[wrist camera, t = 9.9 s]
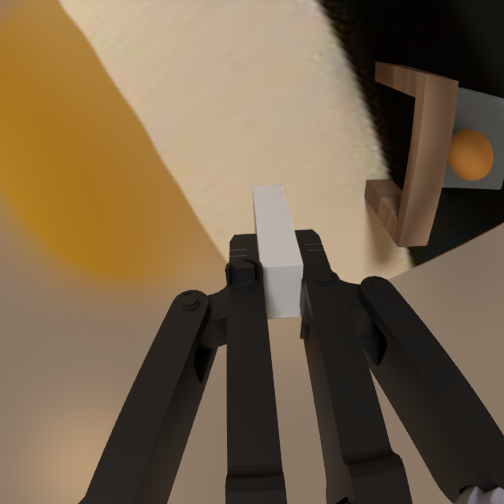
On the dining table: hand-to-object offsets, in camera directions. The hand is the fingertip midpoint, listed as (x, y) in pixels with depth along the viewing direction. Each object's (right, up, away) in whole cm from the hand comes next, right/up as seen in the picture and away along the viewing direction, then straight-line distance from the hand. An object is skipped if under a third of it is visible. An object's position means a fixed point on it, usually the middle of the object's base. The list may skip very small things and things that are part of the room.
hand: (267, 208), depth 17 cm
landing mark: (+25, +10, +12) cm, 30 cm away
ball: (+22, +8, +10) cm, 25 cm away
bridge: (+12, +10, +12) cm, 19 cm away
